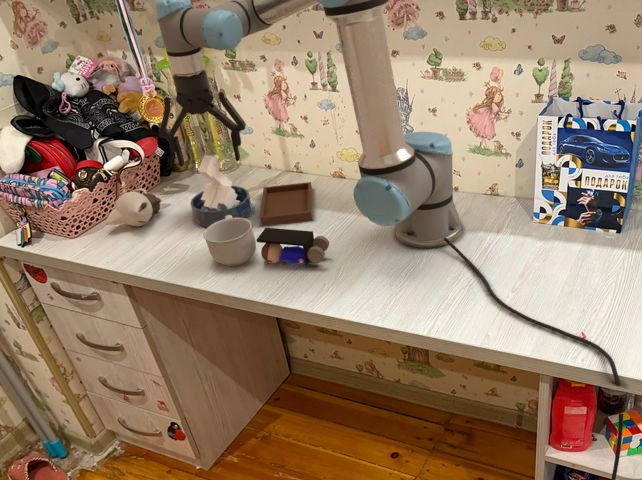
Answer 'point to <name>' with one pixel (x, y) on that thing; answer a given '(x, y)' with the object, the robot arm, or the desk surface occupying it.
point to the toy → (134, 208)
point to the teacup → (231, 240)
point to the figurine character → (295, 254)
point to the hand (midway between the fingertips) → (210, 161)
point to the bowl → (210, 217)
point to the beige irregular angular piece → (216, 186)
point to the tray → (286, 204)
